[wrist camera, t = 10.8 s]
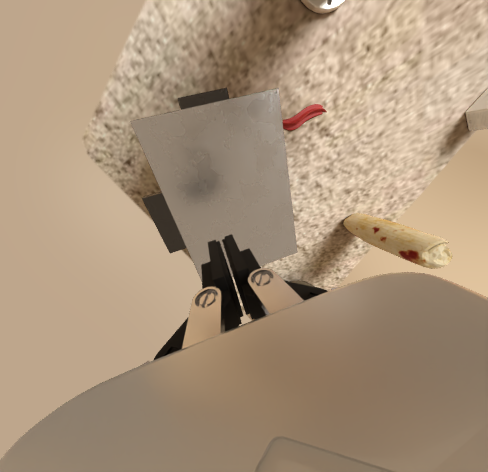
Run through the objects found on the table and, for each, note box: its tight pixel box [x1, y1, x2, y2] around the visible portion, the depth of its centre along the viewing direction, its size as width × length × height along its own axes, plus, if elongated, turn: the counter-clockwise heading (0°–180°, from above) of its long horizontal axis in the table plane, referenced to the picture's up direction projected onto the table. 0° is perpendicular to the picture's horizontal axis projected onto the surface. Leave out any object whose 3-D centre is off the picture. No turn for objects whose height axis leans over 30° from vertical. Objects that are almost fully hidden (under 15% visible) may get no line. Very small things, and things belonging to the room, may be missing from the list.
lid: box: [130, 88, 297, 281], centre depth 24 cm, size 23×19×1 cm
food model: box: [344, 213, 452, 269], centre depth 40 cm, size 10×7×20 cm
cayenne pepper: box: [282, 104, 326, 130], centre depth 34 cm, size 12×5×2 cm, turn 91°
